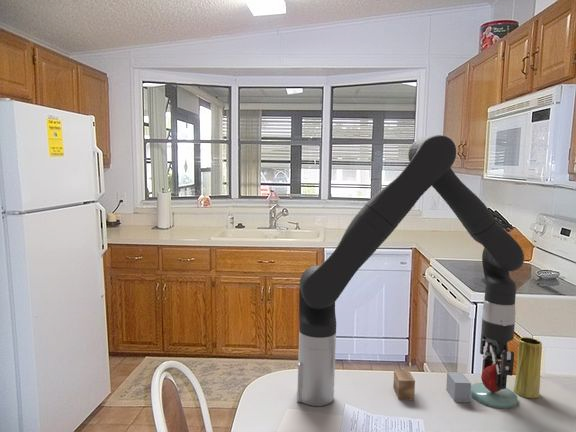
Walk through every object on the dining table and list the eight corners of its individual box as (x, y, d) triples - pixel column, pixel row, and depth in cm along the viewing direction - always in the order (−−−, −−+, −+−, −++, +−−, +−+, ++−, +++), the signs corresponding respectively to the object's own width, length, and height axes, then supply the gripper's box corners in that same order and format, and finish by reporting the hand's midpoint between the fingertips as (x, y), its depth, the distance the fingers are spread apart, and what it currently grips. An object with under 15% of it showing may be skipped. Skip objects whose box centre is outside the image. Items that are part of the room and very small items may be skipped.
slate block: (453, 401, 110) (455, 382, 110) (446, 390, 116) (447, 372, 116) (469, 402, 110) (471, 383, 110) (461, 390, 116) (462, 372, 116)
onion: (508, 399, 109) (510, 368, 109) (483, 396, 111) (485, 366, 110) (501, 388, 115) (503, 359, 114) (478, 385, 116) (480, 357, 115)
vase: (514, 395, 114) (518, 342, 113) (512, 385, 119) (516, 335, 118) (541, 400, 112) (545, 346, 110) (537, 390, 117) (541, 338, 116)
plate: (479, 407, 108) (480, 402, 107) (463, 386, 119) (463, 381, 118) (525, 409, 107) (525, 404, 107) (504, 387, 118) (505, 383, 118)
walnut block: (398, 399, 111) (399, 380, 110) (393, 387, 117) (394, 369, 116) (414, 399, 111) (415, 380, 110) (408, 388, 117) (409, 370, 116)
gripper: (472, 309, 118) (468, 368, 120) (495, 327, 104) (491, 394, 105) (500, 310, 118) (496, 369, 120) (527, 329, 104) (522, 395, 105)
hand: (494, 380), depth 112 cm, fingers open, 7 cm apart
